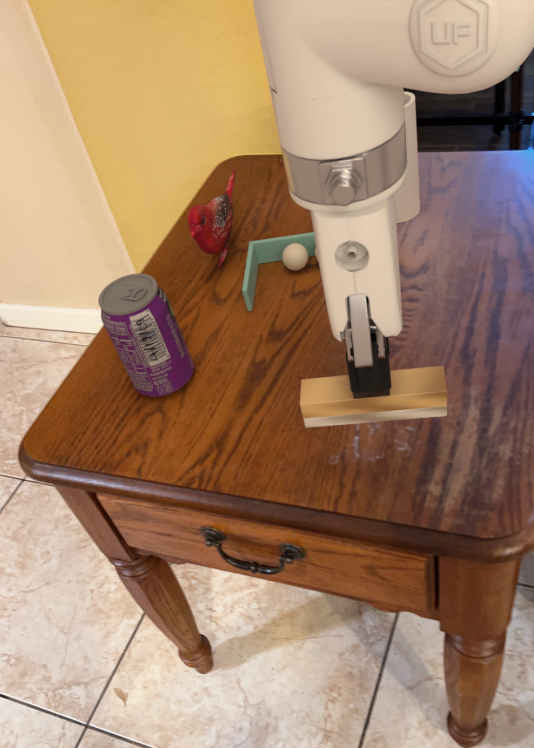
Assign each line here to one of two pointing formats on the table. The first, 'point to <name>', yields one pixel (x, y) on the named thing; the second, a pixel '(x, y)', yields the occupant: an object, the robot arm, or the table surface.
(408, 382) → the brush
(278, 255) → the teal open frame
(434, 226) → the table surface
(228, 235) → the decorative bird figurine
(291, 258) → the crumb
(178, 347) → the beverage can
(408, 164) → the vase
